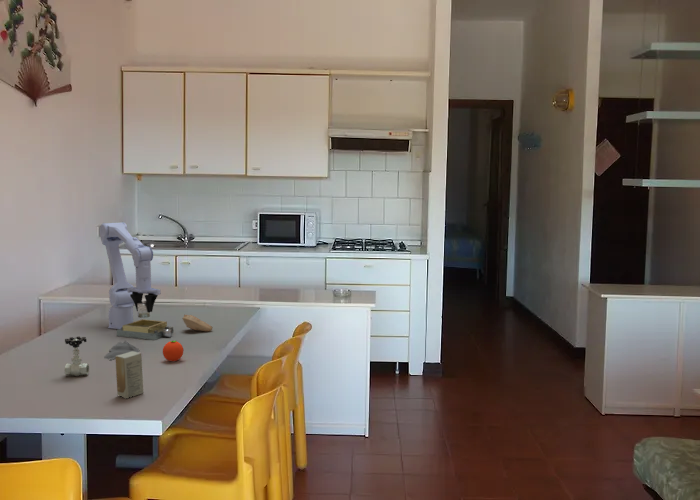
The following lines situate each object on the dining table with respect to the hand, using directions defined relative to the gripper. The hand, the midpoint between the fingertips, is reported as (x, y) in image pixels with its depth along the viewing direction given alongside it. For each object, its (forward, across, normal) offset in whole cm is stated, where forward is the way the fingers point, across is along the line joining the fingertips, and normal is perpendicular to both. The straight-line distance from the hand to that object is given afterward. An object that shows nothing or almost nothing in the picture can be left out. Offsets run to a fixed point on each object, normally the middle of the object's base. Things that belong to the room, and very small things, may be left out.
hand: (144, 311), depth 271 cm
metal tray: (+9, +1, 0) cm, 10 cm away
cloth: (+10, +8, -24) cm, 27 cm away
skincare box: (+10, +43, -62) cm, 76 cm away
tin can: (+2, 0, 0) cm, 2 cm away
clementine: (+10, +33, -27) cm, 44 cm away
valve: (+10, +15, -53) cm, 56 cm away
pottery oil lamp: (+10, +16, +12) cm, 23 cm away
